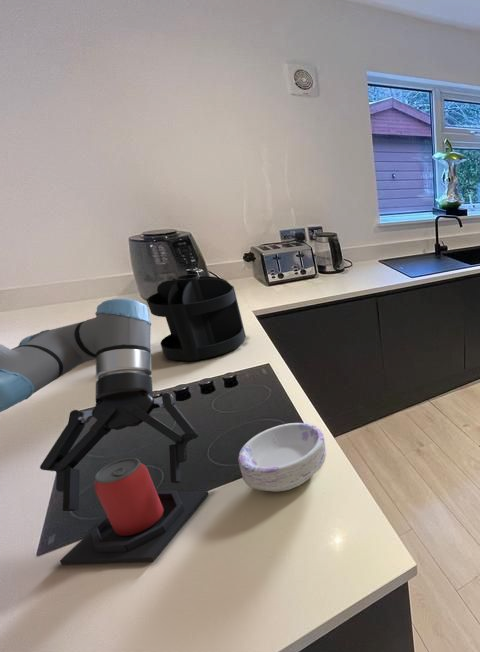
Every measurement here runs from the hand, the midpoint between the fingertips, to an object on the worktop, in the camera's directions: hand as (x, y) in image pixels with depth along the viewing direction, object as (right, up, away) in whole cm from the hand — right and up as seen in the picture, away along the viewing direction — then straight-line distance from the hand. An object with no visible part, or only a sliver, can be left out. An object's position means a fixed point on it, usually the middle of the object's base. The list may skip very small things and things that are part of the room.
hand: (125, 495), depth 67 cm
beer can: (0, -6, +3) cm, 7 cm away
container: (-39, +20, +69) cm, 81 cm away
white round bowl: (+19, -3, +16) cm, 25 cm away
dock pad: (0, -7, +3) cm, 8 cm away
